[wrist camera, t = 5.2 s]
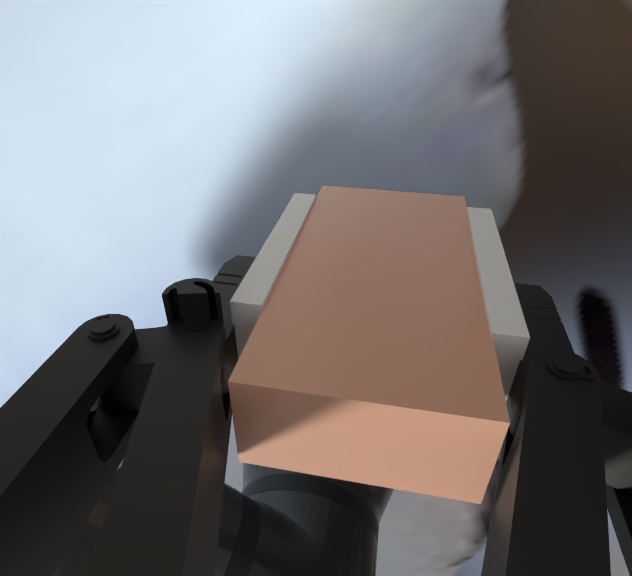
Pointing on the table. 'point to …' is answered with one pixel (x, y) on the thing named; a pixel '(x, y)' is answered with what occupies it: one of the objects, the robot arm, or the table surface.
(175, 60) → the table surface
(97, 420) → the robot arm
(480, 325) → the domino
